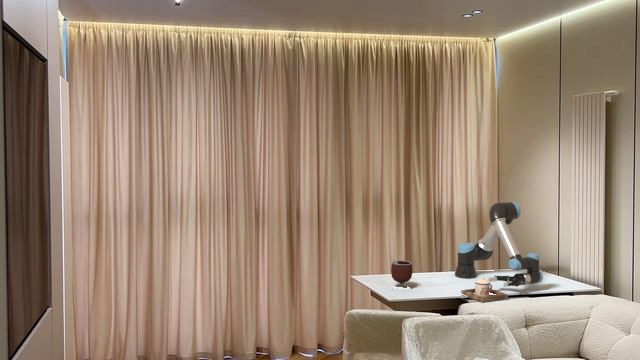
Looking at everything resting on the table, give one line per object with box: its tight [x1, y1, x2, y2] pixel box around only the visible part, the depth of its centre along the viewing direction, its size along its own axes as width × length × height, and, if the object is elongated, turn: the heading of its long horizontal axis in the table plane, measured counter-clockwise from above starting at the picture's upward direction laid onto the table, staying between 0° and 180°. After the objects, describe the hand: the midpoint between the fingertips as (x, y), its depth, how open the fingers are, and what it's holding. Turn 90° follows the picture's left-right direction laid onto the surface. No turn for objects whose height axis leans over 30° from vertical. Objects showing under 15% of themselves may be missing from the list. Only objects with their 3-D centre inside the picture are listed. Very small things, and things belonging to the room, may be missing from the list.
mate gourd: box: [390, 256, 413, 288], centre depth 396 cm, size 16×14×20 cm
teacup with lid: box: [474, 276, 493, 297], centre depth 376 cm, size 12×9×12 cm
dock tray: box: [460, 288, 509, 304], centre depth 376 cm, size 20×20×3 cm
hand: (495, 282), depth 380 cm, fingers open, 13 cm apart
